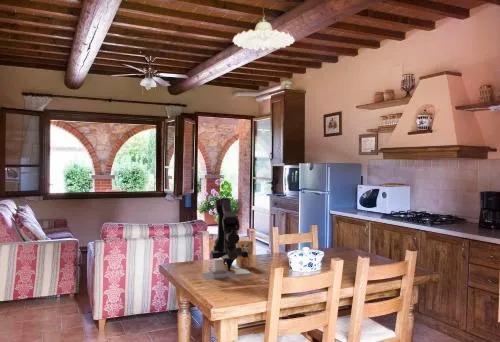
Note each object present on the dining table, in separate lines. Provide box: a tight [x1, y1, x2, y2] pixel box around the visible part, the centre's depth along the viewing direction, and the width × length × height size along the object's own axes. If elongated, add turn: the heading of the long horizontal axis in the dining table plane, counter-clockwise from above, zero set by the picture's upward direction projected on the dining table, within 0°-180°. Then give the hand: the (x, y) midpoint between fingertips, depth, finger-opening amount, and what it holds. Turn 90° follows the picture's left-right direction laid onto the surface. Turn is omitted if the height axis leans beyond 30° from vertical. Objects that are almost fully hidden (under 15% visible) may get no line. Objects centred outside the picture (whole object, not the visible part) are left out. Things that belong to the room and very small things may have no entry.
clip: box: [223, 265, 236, 274], centre depth 223 cm, size 19×2×1 cm, turn 27°
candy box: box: [235, 239, 254, 269], centre depth 246 cm, size 9×4×15 cm, turn 110°
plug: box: [209, 258, 228, 274], centre depth 224 cm, size 7×7×9 cm
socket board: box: [199, 268, 255, 281], centre depth 226 cm, size 13×26×4 cm, turn 109°
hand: (228, 271), depth 218 cm, fingers closed
